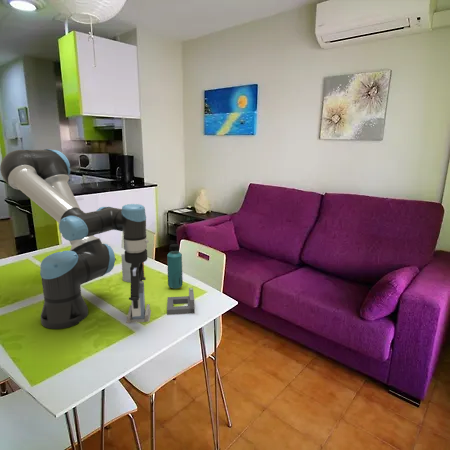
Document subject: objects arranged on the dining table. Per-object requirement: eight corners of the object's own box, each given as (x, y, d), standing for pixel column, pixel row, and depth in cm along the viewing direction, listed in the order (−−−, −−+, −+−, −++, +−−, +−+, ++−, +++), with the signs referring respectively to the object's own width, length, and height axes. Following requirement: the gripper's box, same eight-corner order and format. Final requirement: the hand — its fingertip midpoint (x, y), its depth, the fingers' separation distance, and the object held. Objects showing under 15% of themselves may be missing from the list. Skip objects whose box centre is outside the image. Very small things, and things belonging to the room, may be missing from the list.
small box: (133, 283, 144) (132, 256, 141) (122, 280, 146) (120, 253, 143) (144, 276, 151) (143, 250, 148) (133, 274, 154) (132, 248, 150)
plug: (132, 319, 114) (130, 288, 111) (134, 313, 118) (132, 283, 115) (144, 318, 114) (142, 287, 111) (145, 313, 118) (143, 283, 115)
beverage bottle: (180, 292, 136) (179, 247, 131) (165, 290, 138) (164, 246, 133) (184, 286, 143) (184, 243, 138) (170, 284, 144) (169, 241, 139)
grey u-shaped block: (126, 324, 112) (125, 316, 111) (129, 312, 119) (128, 305, 119) (149, 322, 113) (149, 315, 112) (151, 311, 121) (150, 304, 120)
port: (167, 316, 118) (166, 299, 116) (167, 302, 127) (167, 287, 126) (194, 314, 119) (194, 298, 118) (192, 301, 129) (192, 286, 127)
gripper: (143, 262, 98) (146, 324, 104) (149, 238, 122) (151, 290, 127) (118, 263, 97) (122, 325, 102) (129, 239, 121) (132, 291, 126)
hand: (138, 306), depth 115 cm, fingers open, 13 cm apart
